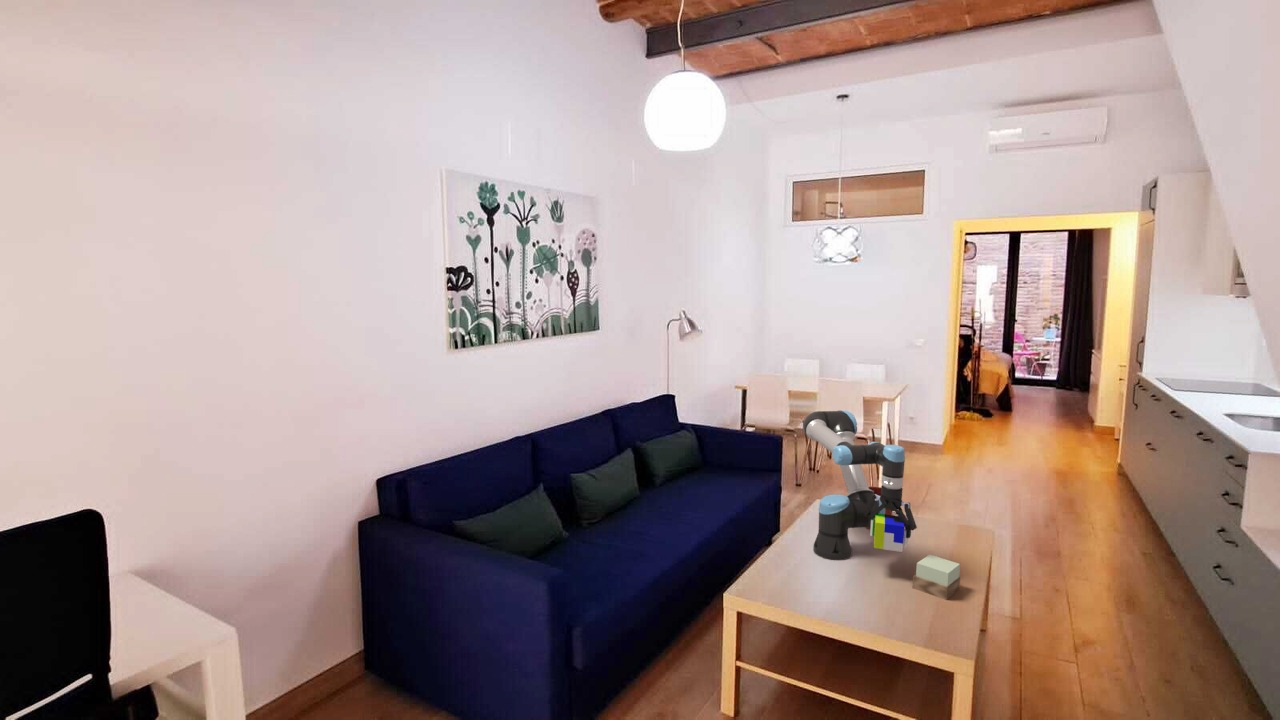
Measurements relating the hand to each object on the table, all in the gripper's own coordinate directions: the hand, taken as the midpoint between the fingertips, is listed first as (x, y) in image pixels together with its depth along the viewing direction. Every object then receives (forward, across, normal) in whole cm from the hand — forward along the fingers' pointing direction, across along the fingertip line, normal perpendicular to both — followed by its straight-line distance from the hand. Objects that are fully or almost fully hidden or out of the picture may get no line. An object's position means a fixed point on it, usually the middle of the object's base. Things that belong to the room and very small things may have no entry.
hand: (888, 540), depth 242 cm
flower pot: (+14, -24, +42) cm, 50 cm away
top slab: (+8, +19, 0) cm, 20 cm away
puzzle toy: (+1, +1, -2) cm, 2 cm away
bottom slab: (+13, +19, -1) cm, 23 cm away
